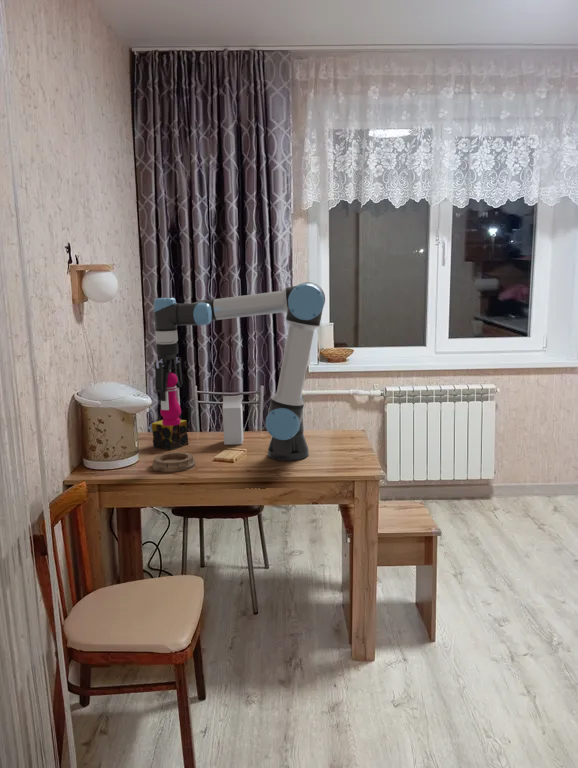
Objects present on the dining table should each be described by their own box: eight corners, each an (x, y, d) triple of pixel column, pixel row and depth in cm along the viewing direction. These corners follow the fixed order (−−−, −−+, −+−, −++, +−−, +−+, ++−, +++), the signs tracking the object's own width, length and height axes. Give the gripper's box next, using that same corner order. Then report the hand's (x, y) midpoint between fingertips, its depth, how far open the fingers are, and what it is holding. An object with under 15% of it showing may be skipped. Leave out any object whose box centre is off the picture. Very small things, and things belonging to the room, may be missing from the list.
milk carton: (242, 444, 270) (240, 397, 267) (224, 445, 270) (222, 398, 267) (243, 440, 277) (241, 394, 274) (226, 440, 277) (224, 394, 274)
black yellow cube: (189, 444, 273) (187, 420, 271) (171, 450, 264) (170, 425, 263) (169, 441, 278) (168, 417, 276) (152, 447, 270) (151, 422, 268)
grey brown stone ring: (202, 461, 248) (202, 453, 248) (180, 473, 235) (180, 465, 234) (167, 458, 254) (167, 449, 253) (144, 469, 240) (143, 461, 240)
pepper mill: (177, 426, 237) (174, 369, 234) (158, 426, 239) (154, 369, 235) (184, 421, 244) (181, 366, 241) (165, 421, 246) (162, 366, 242)
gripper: (172, 339, 247) (176, 401, 251) (141, 345, 229) (145, 412, 233) (190, 339, 244) (194, 402, 248) (160, 346, 226) (164, 414, 230)
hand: (170, 407), depth 241 cm, fingers closed on pepper mill, 6 cm apart
